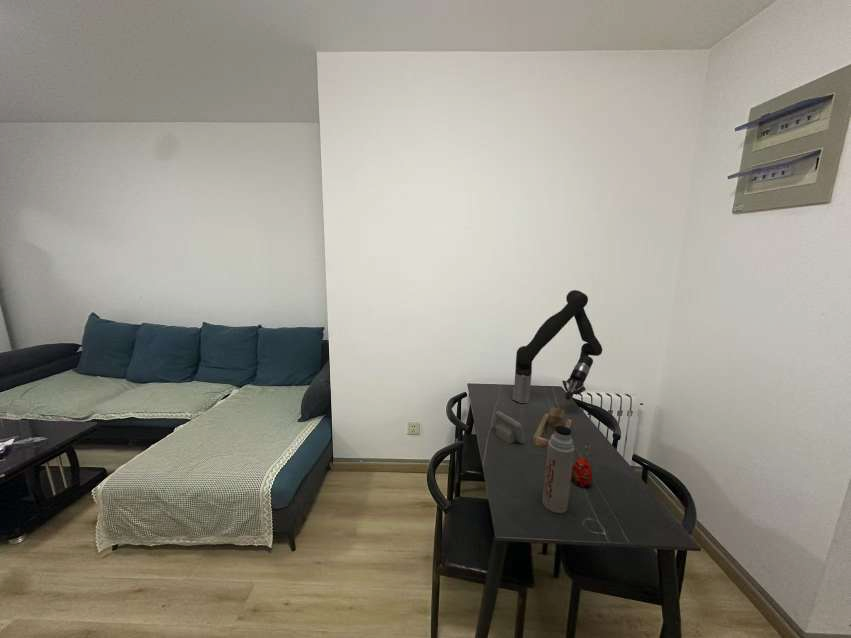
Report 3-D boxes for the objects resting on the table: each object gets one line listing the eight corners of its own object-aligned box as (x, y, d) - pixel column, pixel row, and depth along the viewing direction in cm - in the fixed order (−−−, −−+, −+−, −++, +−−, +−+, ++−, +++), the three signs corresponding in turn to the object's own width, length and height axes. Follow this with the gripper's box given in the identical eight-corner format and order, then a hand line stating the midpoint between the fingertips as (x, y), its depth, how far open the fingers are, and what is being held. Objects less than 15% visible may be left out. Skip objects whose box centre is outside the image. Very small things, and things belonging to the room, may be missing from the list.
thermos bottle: (548, 513, 105) (557, 435, 100) (538, 496, 113) (545, 423, 108) (571, 512, 106) (581, 435, 101) (559, 495, 114) (568, 422, 109)
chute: (532, 444, 145) (533, 437, 145) (544, 419, 169) (544, 413, 169) (563, 453, 139) (564, 446, 138) (570, 426, 163) (571, 420, 162)
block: (547, 431, 157) (548, 414, 156) (550, 423, 166) (552, 407, 164) (560, 435, 154) (562, 417, 153) (563, 426, 163) (564, 409, 161)
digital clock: (526, 445, 145) (528, 423, 143) (509, 448, 142) (511, 426, 140) (506, 427, 160) (507, 407, 158) (490, 430, 157) (491, 410, 155)
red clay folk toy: (566, 476, 124) (570, 441, 121) (581, 474, 126) (585, 439, 123) (580, 490, 117) (585, 452, 114) (596, 487, 118) (601, 450, 116)
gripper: (566, 365, 180) (553, 391, 174) (590, 372, 170) (577, 399, 164) (570, 373, 184) (557, 398, 178) (594, 379, 174) (581, 406, 168)
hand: (567, 398), depth 171 cm, fingers closed
